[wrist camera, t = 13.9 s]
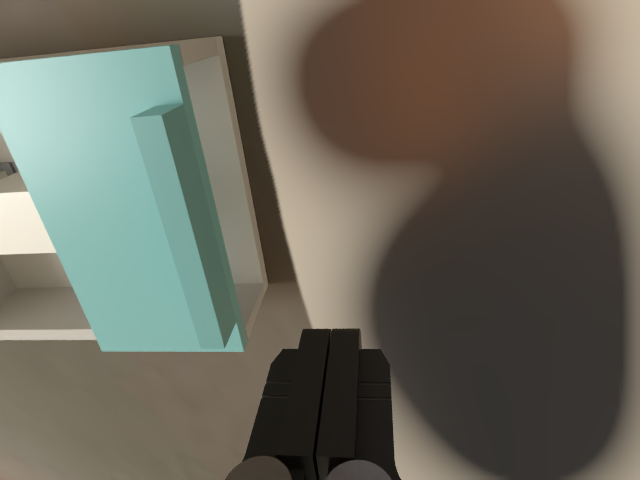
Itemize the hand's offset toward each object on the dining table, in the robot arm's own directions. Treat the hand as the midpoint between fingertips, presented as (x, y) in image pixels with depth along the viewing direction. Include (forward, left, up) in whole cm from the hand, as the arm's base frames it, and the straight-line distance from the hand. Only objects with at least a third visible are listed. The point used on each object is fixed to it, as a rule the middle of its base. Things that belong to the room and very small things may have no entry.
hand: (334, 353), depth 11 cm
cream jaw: (-17, 0, -13) cm, 22 cm away
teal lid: (-10, 0, -9) cm, 14 cm away
